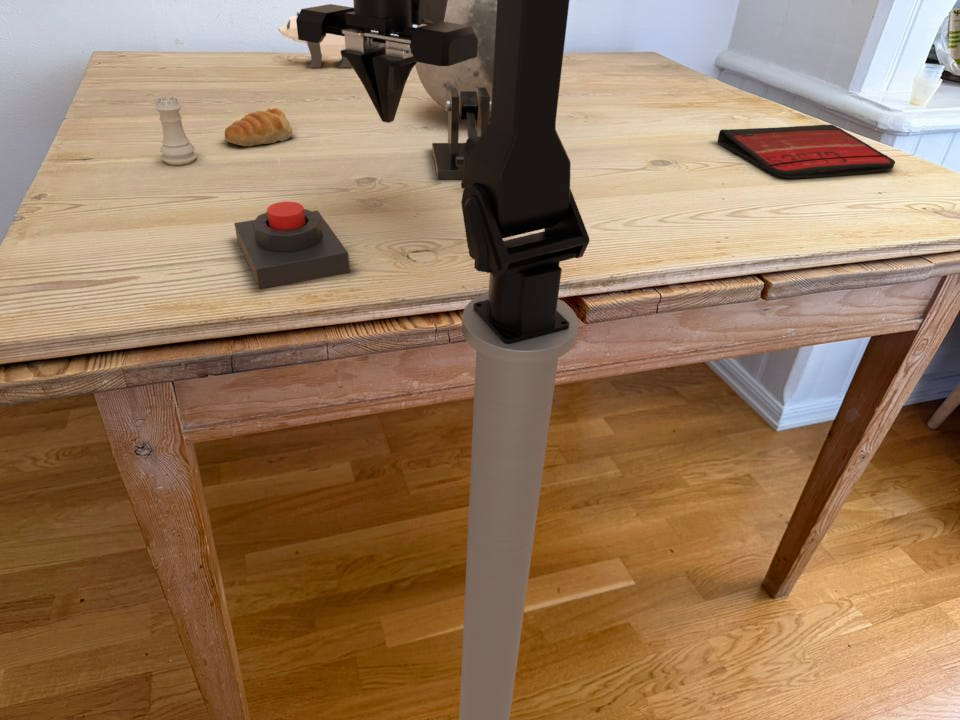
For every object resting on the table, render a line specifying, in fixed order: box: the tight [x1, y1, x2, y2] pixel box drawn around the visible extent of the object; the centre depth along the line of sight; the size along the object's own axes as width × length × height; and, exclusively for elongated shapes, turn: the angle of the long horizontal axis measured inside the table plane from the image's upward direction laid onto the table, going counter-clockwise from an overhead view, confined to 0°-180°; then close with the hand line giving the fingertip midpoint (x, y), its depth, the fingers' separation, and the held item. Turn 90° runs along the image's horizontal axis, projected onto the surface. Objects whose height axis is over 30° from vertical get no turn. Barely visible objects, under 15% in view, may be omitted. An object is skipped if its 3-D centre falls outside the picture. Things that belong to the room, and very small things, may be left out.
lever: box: [456, 91, 479, 166], centre depth 88 cm, size 12×5×2 cm, turn 7°
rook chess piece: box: [154, 95, 197, 166], centre depth 89 cm, size 4×4×8 cm
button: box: [266, 201, 306, 230], centre depth 68 cm, size 4×4×2 cm
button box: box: [233, 208, 351, 290], centre depth 70 cm, size 11×9×4 cm
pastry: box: [224, 107, 293, 148], centre depth 98 cm, size 9×7×4 cm
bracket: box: [431, 87, 492, 180], centre depth 92 cm, size 11×9×10 cm
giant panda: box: [278, 11, 353, 69], centre depth 134 cm, size 15×6×10 cm, turn 100°
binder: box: [717, 124, 896, 179], centre depth 103 cm, size 16×2×21 cm
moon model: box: [414, 0, 497, 118], centre depth 107 cm, size 20×20×20 cm
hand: (388, 121), depth 72 cm, fingers closed
